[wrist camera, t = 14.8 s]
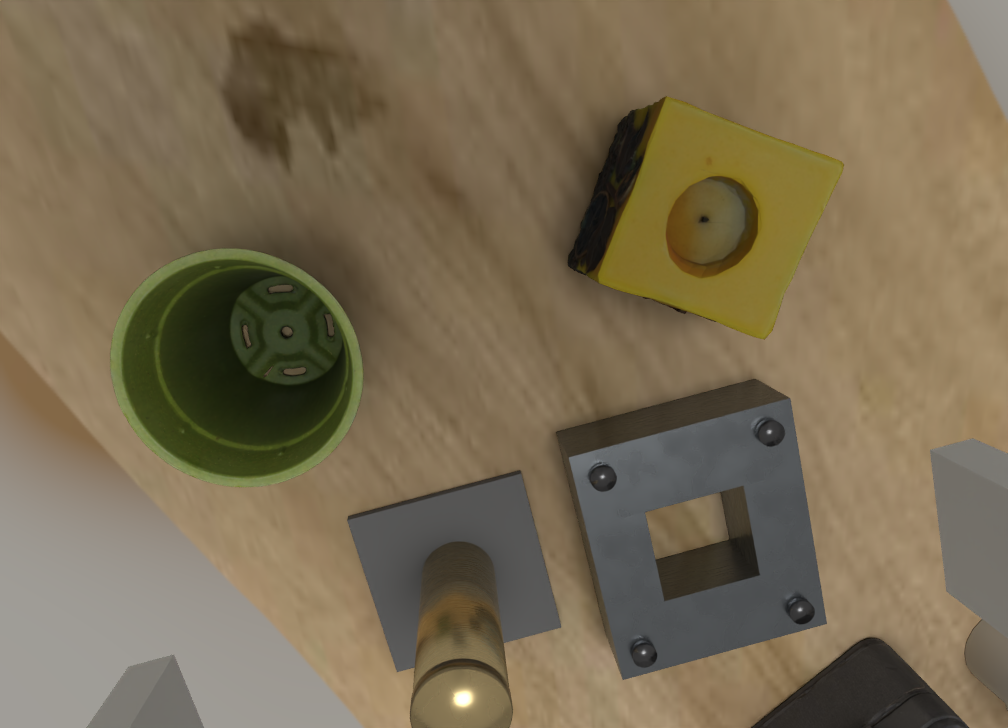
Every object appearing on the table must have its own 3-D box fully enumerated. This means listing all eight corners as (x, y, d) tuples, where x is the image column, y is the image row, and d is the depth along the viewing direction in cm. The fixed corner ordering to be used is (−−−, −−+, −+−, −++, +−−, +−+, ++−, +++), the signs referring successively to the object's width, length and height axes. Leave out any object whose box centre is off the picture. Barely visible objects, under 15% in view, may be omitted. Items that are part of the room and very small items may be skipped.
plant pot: (151, 307, 44) (54, 341, 33) (308, 200, 43) (261, 197, 33) (269, 456, 47) (216, 532, 36) (419, 356, 46) (411, 403, 35)
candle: (766, 169, 45) (853, 159, 36) (705, 317, 47) (773, 346, 37) (619, 111, 44) (669, 84, 34) (562, 267, 46) (594, 283, 36)
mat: (348, 516, 48) (347, 520, 47) (520, 470, 48) (521, 473, 48) (397, 666, 51) (397, 672, 50) (559, 622, 51) (561, 627, 50)
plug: (412, 551, 48) (397, 685, 35) (485, 532, 48) (499, 658, 35) (432, 616, 49) (425, 771, 36) (503, 598, 50) (523, 744, 36)
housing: (556, 432, 48) (570, 461, 42) (755, 378, 48) (794, 400, 43) (606, 635, 52) (625, 685, 46) (791, 584, 52) (831, 629, 46)
